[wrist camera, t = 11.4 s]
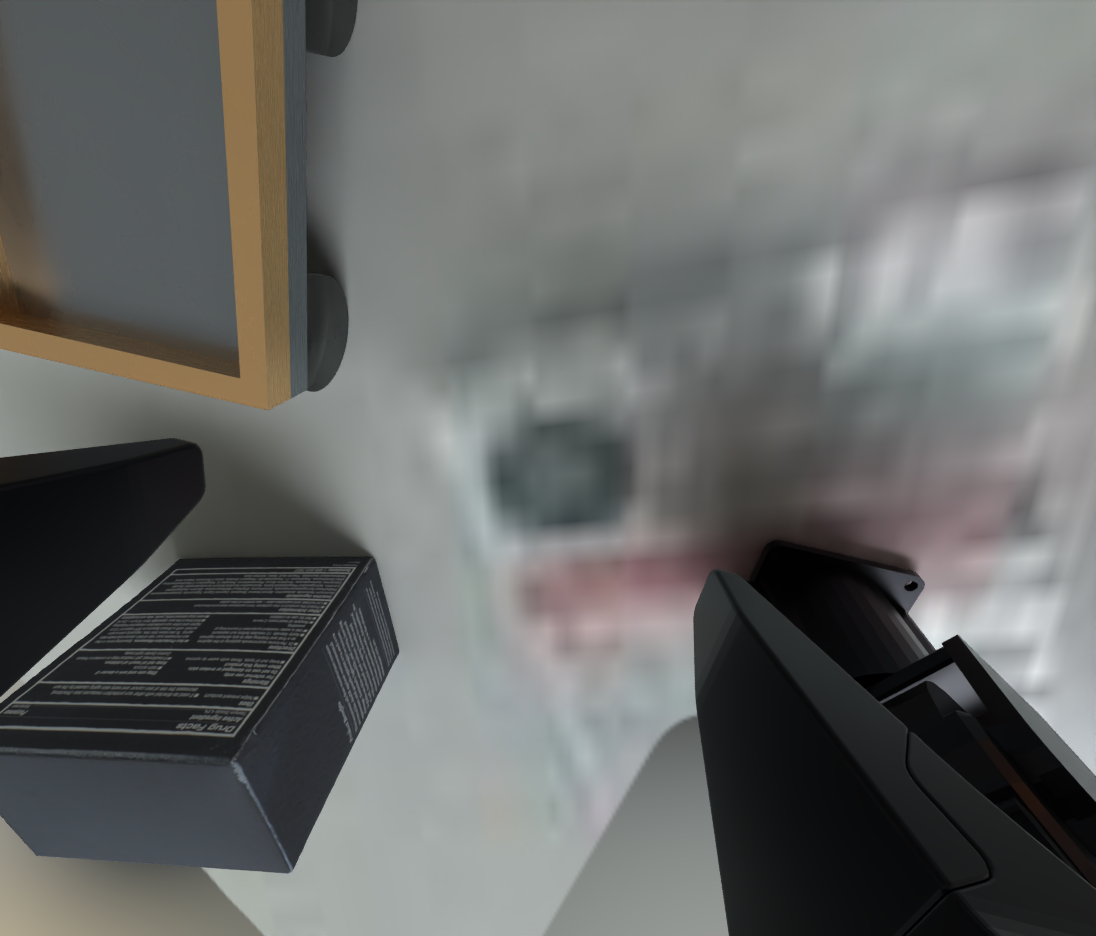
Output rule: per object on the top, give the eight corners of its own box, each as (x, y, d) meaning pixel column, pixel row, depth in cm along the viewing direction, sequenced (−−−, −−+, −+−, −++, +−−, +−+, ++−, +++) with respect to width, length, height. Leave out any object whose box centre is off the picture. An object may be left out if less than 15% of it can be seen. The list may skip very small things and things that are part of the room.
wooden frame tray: (370, -95, 15) (240, -270, 10) (353, 377, 21) (268, 425, 16) (47, -163, 15) (-253, -372, 10) (124, 324, 21) (-36, 355, 16)
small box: (221, 654, 28) (27, 866, 19) (176, 555, 26) (-76, 743, 16) (404, 658, 27) (292, 888, 18) (376, 553, 24) (226, 758, 15)
